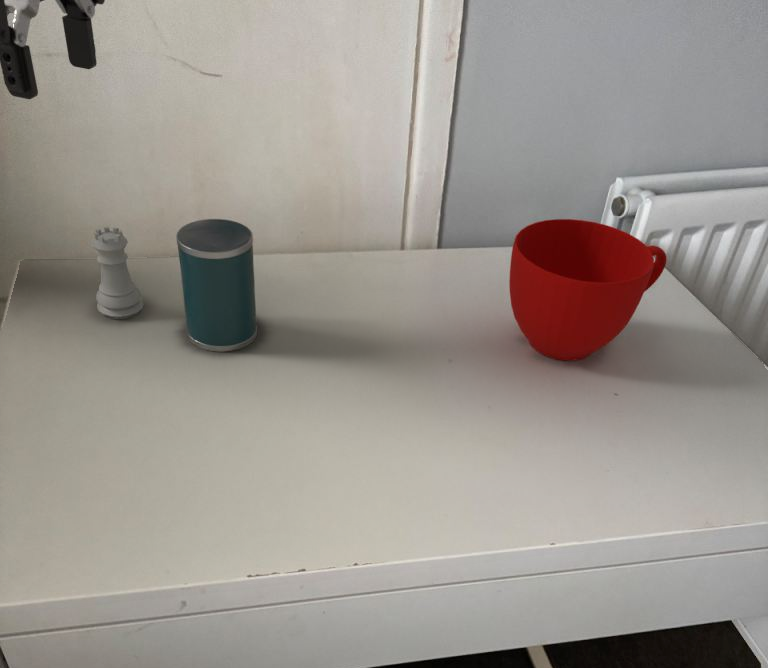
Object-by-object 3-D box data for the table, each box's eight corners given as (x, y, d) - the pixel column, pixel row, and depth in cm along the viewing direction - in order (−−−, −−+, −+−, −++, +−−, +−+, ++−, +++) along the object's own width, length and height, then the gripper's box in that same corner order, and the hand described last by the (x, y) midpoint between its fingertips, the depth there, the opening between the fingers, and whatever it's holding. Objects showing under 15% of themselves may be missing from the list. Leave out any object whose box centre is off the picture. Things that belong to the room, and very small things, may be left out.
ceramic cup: (683, 357, 83) (717, 264, 76) (542, 391, 77) (565, 293, 70) (606, 295, 92) (630, 206, 85) (473, 321, 86) (488, 228, 79)
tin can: (174, 342, 79) (162, 243, 72) (206, 309, 84) (197, 213, 77) (239, 358, 78) (233, 258, 71) (268, 323, 83) (264, 227, 76)
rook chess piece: (122, 293, 85) (109, 217, 80) (153, 308, 83) (143, 232, 78) (88, 310, 82) (72, 233, 77) (119, 326, 81) (106, 248, 75)
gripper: (23, -186, 63) (63, 51, 74) (-112, -174, 53) (-42, 98, 64) (113, -173, 61) (140, 66, 73) (-8, -158, 51) (45, 116, 63)
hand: (55, 81), depth 68 cm, fingers open, 8 cm apart
